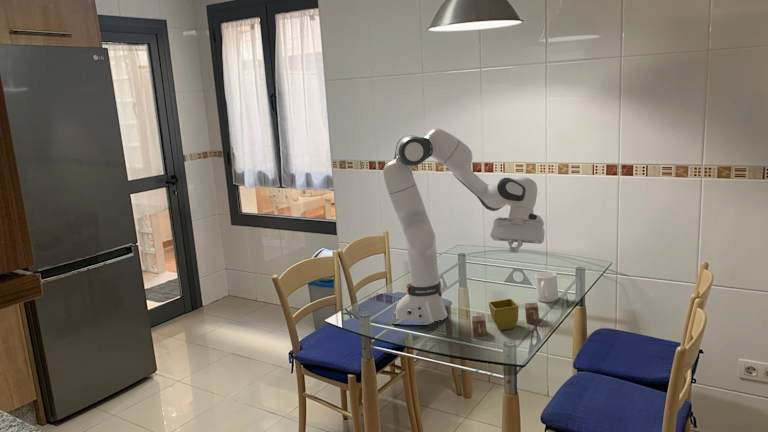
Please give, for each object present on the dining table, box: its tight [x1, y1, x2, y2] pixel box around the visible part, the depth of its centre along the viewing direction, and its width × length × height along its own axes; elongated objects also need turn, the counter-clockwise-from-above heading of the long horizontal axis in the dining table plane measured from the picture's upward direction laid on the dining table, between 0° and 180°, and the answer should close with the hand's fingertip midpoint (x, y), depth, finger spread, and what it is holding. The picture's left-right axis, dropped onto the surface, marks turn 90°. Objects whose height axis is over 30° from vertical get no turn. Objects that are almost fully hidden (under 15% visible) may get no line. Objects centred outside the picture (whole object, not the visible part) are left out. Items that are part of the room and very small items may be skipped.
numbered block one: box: [471, 315, 488, 338], centre depth 207 cm, size 4×5×6 cm
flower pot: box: [488, 298, 519, 331], centre depth 210 cm, size 9×9×9 cm
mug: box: [534, 271, 559, 303], centre depth 231 cm, size 12×8×10 cm
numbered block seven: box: [524, 302, 540, 324], centre depth 213 cm, size 4×5×6 cm
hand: (513, 252), depth 219 cm, fingers closed
